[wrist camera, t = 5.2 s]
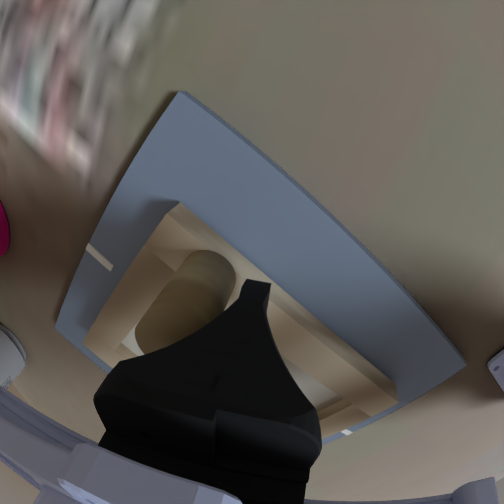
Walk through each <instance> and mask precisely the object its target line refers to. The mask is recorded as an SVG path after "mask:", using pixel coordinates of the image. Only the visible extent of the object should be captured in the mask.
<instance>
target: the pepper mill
mask: <svg viewBox="0 0 504 504" xmlns="http://www.w3.org/2000/svg"><path fill="white" fill-rule="evenodd" d="M9 242H10V234H9V226H8V221H7V217H6V214H5V211H4V208H3V206H2V203H1V202H0V257H1V256H2V255H4V254H5V253H6V251H7V250H8V246H9Z"/></svg>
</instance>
